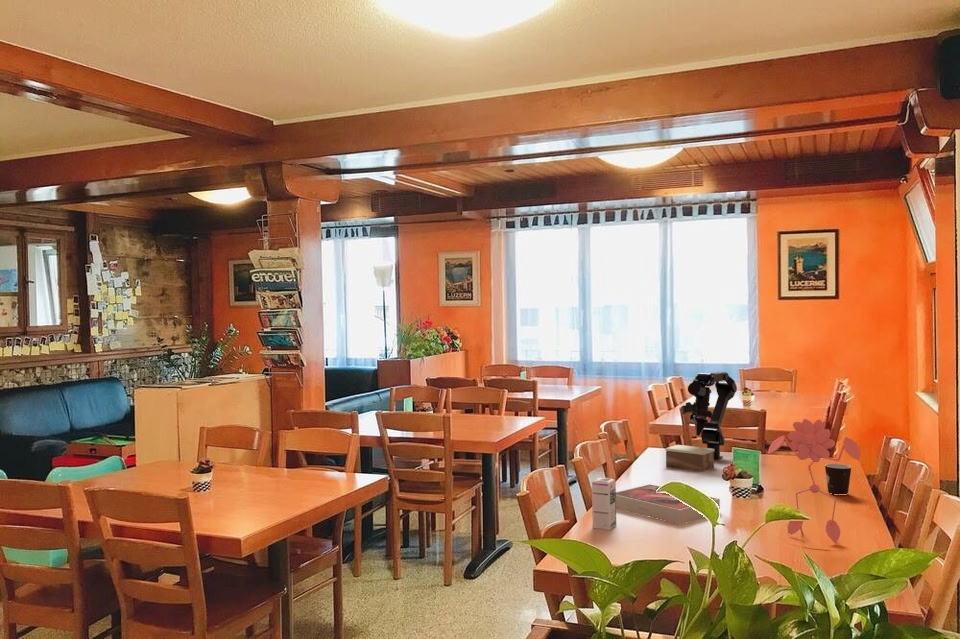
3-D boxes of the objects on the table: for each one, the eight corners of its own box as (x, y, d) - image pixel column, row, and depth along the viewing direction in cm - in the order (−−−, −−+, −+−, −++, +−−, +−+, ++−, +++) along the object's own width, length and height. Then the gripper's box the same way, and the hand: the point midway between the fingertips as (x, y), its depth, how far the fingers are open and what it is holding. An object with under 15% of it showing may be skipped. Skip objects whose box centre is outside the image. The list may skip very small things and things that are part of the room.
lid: (677, 446, 330) (677, 444, 330) (714, 451, 319) (714, 448, 319) (665, 450, 320) (665, 448, 320) (702, 455, 310) (702, 452, 310)
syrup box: (610, 530, 226) (610, 482, 226) (591, 527, 229) (591, 480, 228) (616, 525, 231) (616, 478, 231) (598, 523, 234) (598, 476, 233)
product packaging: (649, 498, 267) (649, 484, 267) (719, 514, 246) (719, 498, 246) (609, 508, 253) (609, 493, 253) (680, 526, 232) (680, 510, 232)
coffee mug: (826, 489, 277) (826, 462, 276) (852, 492, 272) (852, 465, 272) (822, 496, 267) (822, 468, 266) (849, 499, 262) (849, 470, 262)
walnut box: (678, 462, 329) (678, 447, 329) (713, 466, 319) (713, 451, 319) (666, 466, 320) (666, 451, 320) (702, 471, 310) (702, 455, 310)
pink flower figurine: (774, 526, 229) (773, 412, 228) (866, 544, 212) (866, 420, 211) (754, 539, 217) (753, 418, 216) (850, 558, 200) (850, 427, 199)
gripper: (679, 400, 339) (674, 434, 336) (688, 393, 321) (683, 429, 318) (704, 405, 338) (699, 439, 334) (714, 398, 320) (709, 434, 316)
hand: (697, 435), depth 326 cm, fingers closed
